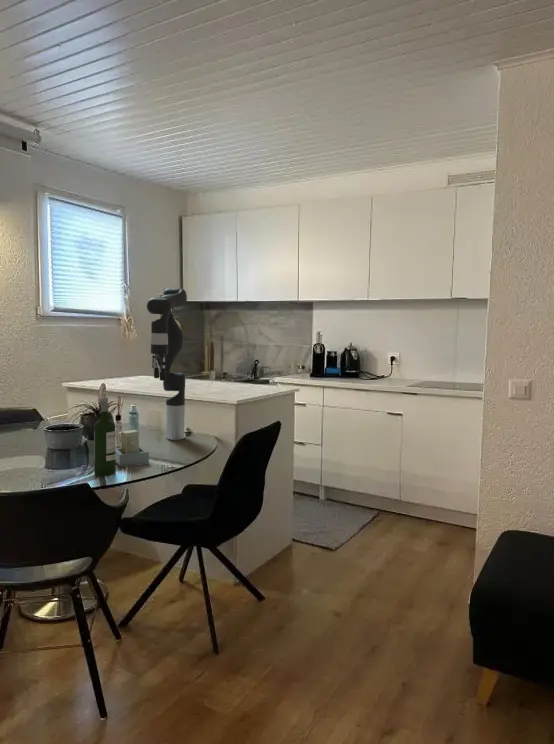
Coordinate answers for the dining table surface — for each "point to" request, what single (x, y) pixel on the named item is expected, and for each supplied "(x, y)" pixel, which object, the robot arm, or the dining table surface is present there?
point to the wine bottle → (104, 442)
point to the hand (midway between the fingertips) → (159, 379)
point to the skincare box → (130, 441)
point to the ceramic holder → (131, 457)
